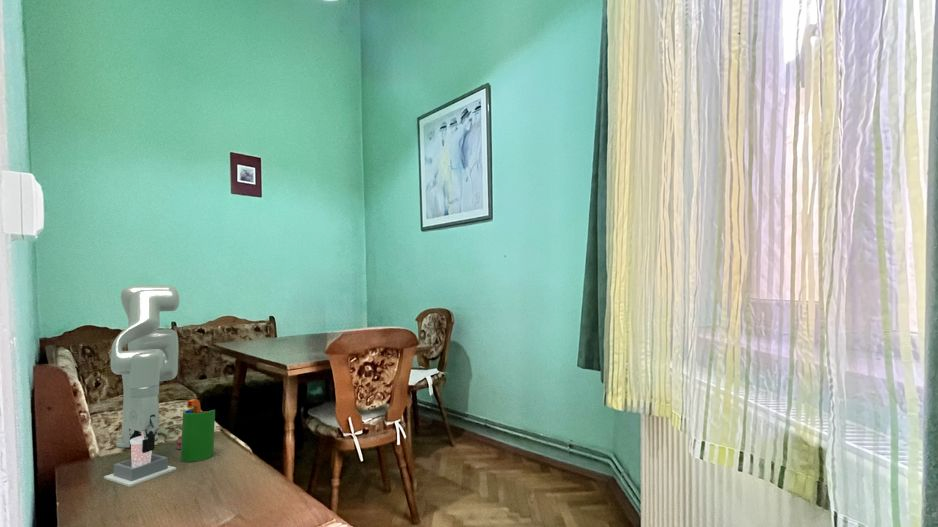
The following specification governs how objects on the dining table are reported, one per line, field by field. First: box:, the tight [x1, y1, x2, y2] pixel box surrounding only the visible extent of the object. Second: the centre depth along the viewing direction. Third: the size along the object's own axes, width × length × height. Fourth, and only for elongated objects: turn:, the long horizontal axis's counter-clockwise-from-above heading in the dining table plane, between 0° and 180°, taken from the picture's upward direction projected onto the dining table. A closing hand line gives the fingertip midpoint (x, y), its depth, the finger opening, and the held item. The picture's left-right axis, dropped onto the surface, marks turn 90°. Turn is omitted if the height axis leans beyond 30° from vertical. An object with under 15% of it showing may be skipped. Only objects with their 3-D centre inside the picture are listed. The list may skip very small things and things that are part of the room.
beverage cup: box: [130, 431, 153, 468], centre depth 131 cm, size 6×6×14 cm
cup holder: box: [103, 453, 177, 488], centre depth 131 cm, size 14×13×4 cm
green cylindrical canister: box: [180, 398, 216, 463], centre depth 145 cm, size 10×9×20 cm
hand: (141, 449), depth 131 cm, fingers closed on beverage cup, 6 cm apart
